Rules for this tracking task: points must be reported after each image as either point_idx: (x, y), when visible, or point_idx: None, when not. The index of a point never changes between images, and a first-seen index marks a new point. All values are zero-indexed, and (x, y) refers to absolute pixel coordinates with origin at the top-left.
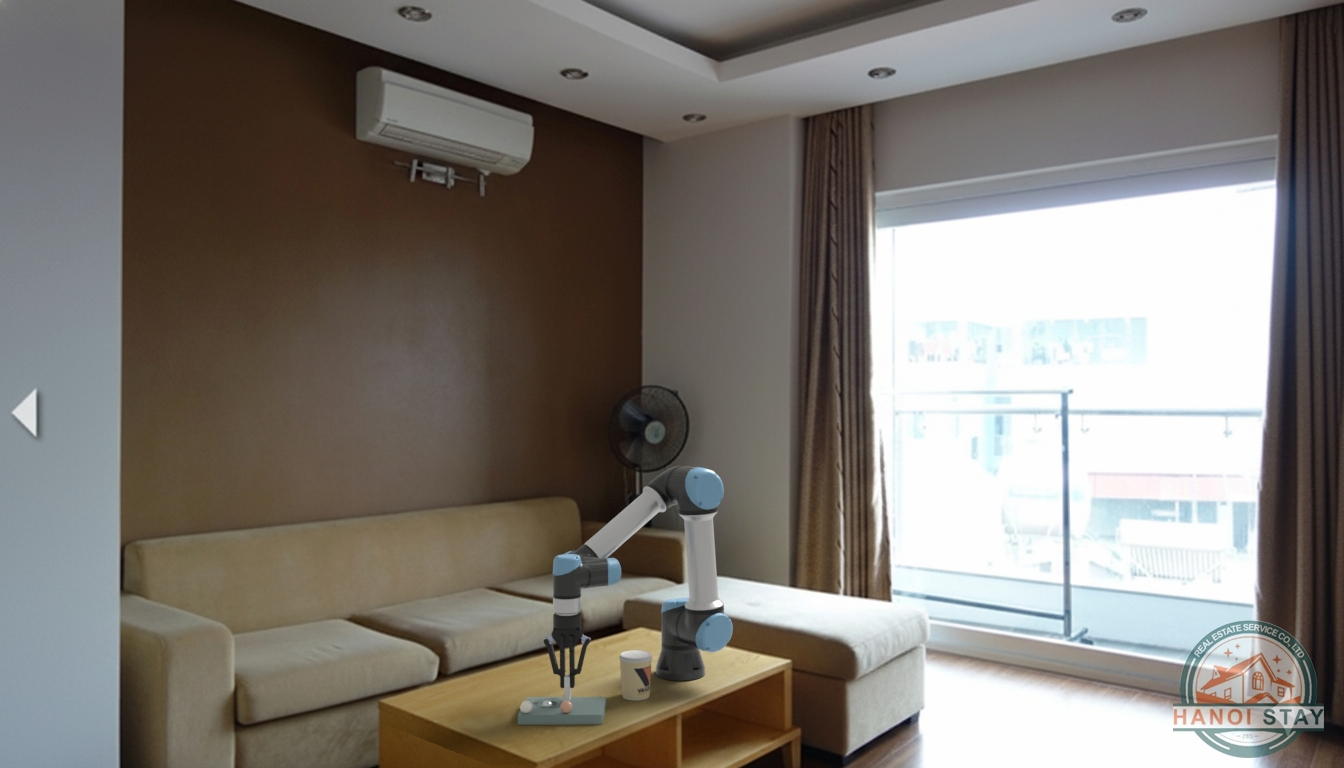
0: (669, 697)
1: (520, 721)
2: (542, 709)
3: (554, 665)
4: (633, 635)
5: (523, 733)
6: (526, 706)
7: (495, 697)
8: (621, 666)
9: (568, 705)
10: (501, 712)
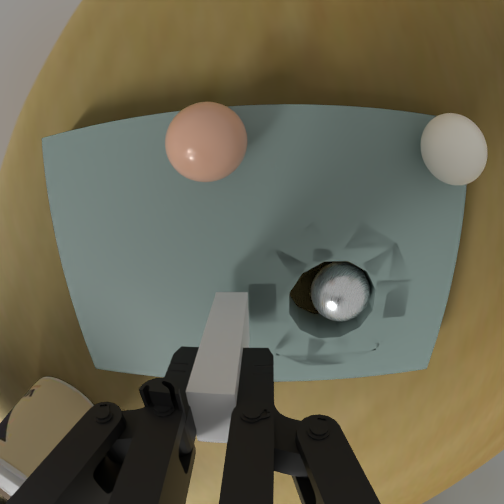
0: (4, 378)
1: None
2: (362, 202)
3: (336, 484)
4: None
5: (399, 11)
6: (456, 115)
7: (478, 396)
8: None
9: (182, 112)
10: (494, 276)
